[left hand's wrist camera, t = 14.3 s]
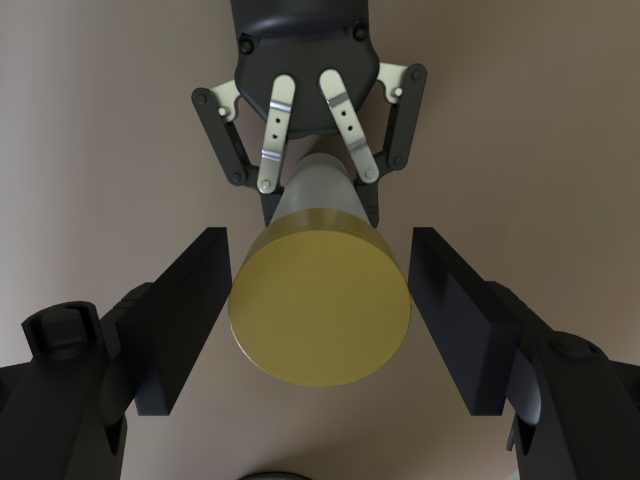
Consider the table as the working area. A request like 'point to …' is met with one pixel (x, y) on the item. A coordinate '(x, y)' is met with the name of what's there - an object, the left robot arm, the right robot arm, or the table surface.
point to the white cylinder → (320, 188)
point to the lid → (319, 299)
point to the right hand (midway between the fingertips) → (324, 236)
